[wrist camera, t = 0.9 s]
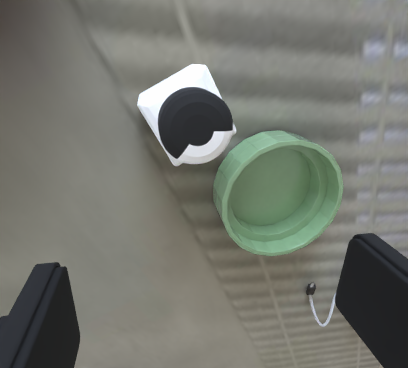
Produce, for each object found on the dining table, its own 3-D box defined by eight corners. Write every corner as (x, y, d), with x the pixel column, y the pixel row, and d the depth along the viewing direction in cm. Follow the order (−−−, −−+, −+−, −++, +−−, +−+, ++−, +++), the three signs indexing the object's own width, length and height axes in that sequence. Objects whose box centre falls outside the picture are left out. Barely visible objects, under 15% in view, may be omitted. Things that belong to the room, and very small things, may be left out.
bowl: (325, 125, 38) (352, 135, 33) (312, 225, 44) (333, 247, 39) (210, 134, 35) (221, 146, 30) (213, 239, 41) (222, 263, 36)
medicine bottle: (137, 94, 32) (133, 112, 21) (193, 62, 32) (218, 63, 21) (169, 148, 35) (180, 188, 24) (221, 119, 35) (255, 146, 24)
